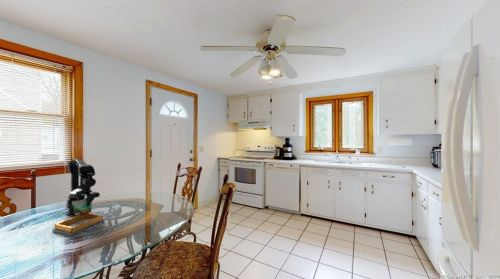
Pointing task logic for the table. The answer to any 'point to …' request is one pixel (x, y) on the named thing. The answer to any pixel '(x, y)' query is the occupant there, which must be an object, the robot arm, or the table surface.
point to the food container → (81, 207)
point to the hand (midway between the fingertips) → (84, 206)
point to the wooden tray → (77, 224)
